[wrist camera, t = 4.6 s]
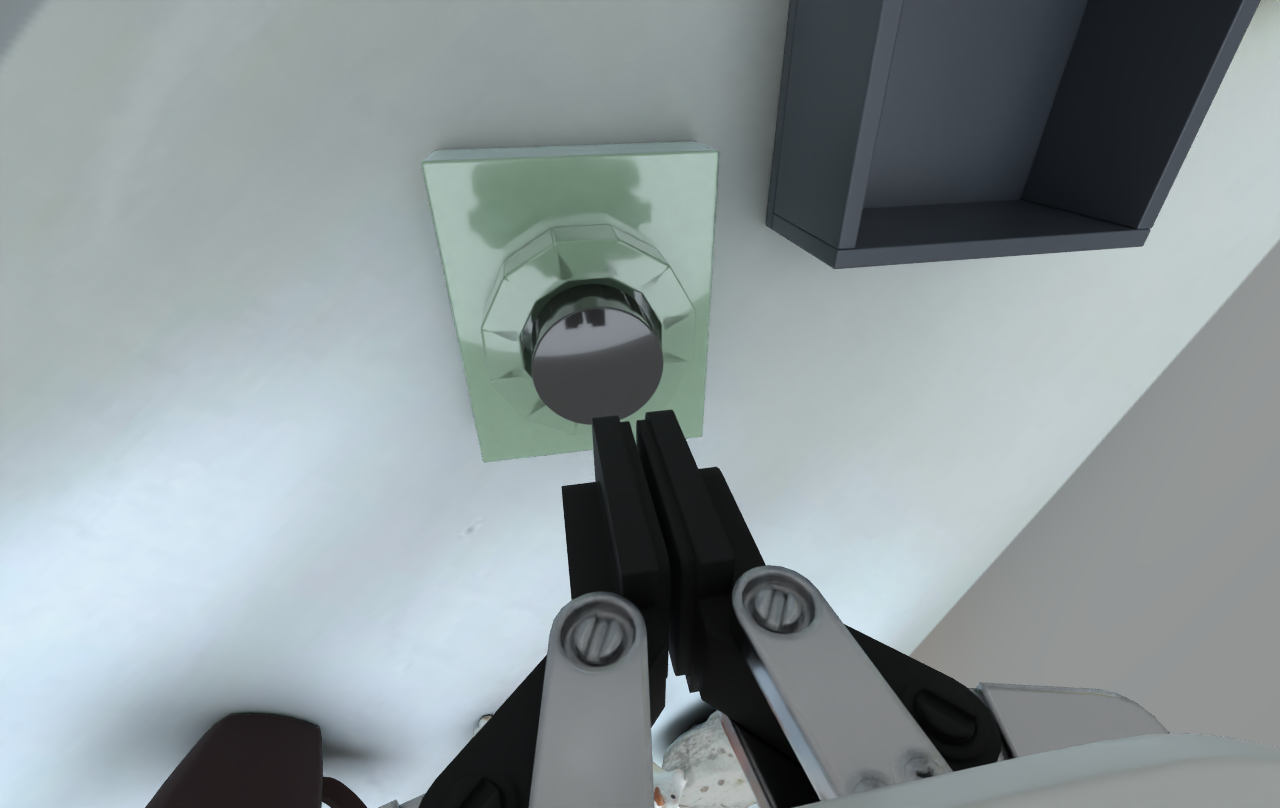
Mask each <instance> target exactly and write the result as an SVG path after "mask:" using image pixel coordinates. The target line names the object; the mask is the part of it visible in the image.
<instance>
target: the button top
mask: <svg viewBox="0 0 1280 808" xmlns="http://www.w3.org/2000/svg"><path fill="white" fill-rule="evenodd" d="M663 365H664V360H663V352H662V348H661V345H660V342H659V340H658V338H657V336H656V334H655V332H654V330H653V328H652V326H651V324H650V322H649V320H648V318H647V316H646V314H645V312H644V310H643V309H642V308H641V306H640V305H639V304H638V303H637V302H636V301H635V300H634V299H633V298H632V297H631V296H629V295H628V294H627V293H625V292H623V291H621V290H619V289H617V288H614V287H611V286H607V285H600V284H586V285H579V286H576V287H572V288H569V289H567V290H565V291H563V292H561V293H559V294H557V295H556V296H555V297H553V298H552V299H551V300H550V301H549V302H548V303H547V304H546V305H545V306H544V307H543V308H542V309H541V311H540V312H539V314H538V316H537V317H536V319H535V322H534V325H533V328H532V332H531V370H532V379H533V384H534V386H535V389H536V391H537V393H538V395H539V397H540V398H541V400H542V401H543V402H544V404H545V405H546V406H547V407H548V408H549V409H551V410H552V411H553V412H555V413H556V414H557V415H559V416H561V417H563V418H565V419H567V420H569V421H572V422H576V423H580V424H586V425H592V418H597V417H606V416H616V415H618V416H619V419H620V420H622V419H624V418H627V417H628V416H630V415H632V414H634V413H635V412H637V411H638V410H639V409H641V408H642V407H643V406H644V405H645V404H646V403H647V402H648V401H649V400H650V399H651V397H652V396H653V394H654V393H655V391H656V389H657V388H658V386H659V383H660V380H661V377H662V373H663Z"/></svg>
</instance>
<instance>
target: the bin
mask: <svg viewBox="0 0 1280 808" xmlns="http://www.w3.org/2000/svg"><path fill="white" fill-rule="evenodd" d="M1260 1H1261V0H790V6H789V15H788V25H787V34H786V43H785V52H784V62H783V71H782V80H781V89H780V98H779V108H778V117H777V126H776V135H775V145H774V154H773V163H772V172H771V181H770V191H769V200H768V209H767V218H766V226H767V227H769V228H771V229H772V230H774V231H776V232H777V233H779V234H780V235H782V236H783V237H785V238H787V239H788V240H790V241H791V242H793V243H794V244H796V245H798V246H799V247H801V248H802V249H804V250H805V251H807V252H809V253H810V254H812V255H813V256H815V257H816V258H818V259H819V260H821V261H823V262H824V263H826V264H827V265H829V266H830V267H832V268H834V269H842V268H855V267H869V266H883V265H896V264H910V263H923V262H937V261H951V260H964V259H978V258H991V257H1005V256H1019V255H1032V254H1046V253H1059V252H1073V251H1087V250H1100V249H1114V248H1127V247H1141V246H1143V245H1144V243H1145V241H1146V239H1147V237H1148V235H1149V233H1150V229H1149V228H1152V227H1153V225H1154V222H1155V220H1156V218H1157V216H1158V214H1159V212H1160V210H1161V208H1162V206H1163V204H1164V202H1165V199H1166V197H1167V195H1168V193H1169V191H1170V189H1171V187H1172V185H1173V183H1174V181H1175V179H1176V176H1177V174H1178V172H1179V170H1180V168H1181V166H1182V164H1183V162H1184V160H1185V158H1186V156H1187V153H1188V151H1189V149H1190V147H1191V145H1192V143H1193V141H1194V139H1195V137H1196V135H1197V132H1198V130H1199V128H1200V126H1201V124H1202V122H1203V120H1204V118H1205V116H1206V114H1207V112H1208V109H1209V107H1210V105H1211V103H1212V101H1213V99H1214V97H1215V95H1216V93H1217V91H1218V89H1219V86H1220V84H1221V82H1222V80H1223V78H1224V76H1225V74H1226V72H1227V70H1228V68H1229V66H1230V63H1231V61H1232V59H1233V57H1234V55H1235V53H1236V51H1237V49H1238V47H1239V45H1240V42H1241V40H1242V38H1243V36H1244V34H1245V32H1246V30H1247V28H1248V26H1249V24H1250V22H1251V19H1252V17H1253V15H1254V13H1255V11H1256V9H1257V7H1258V5H1259V3H1260Z"/></svg>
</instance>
